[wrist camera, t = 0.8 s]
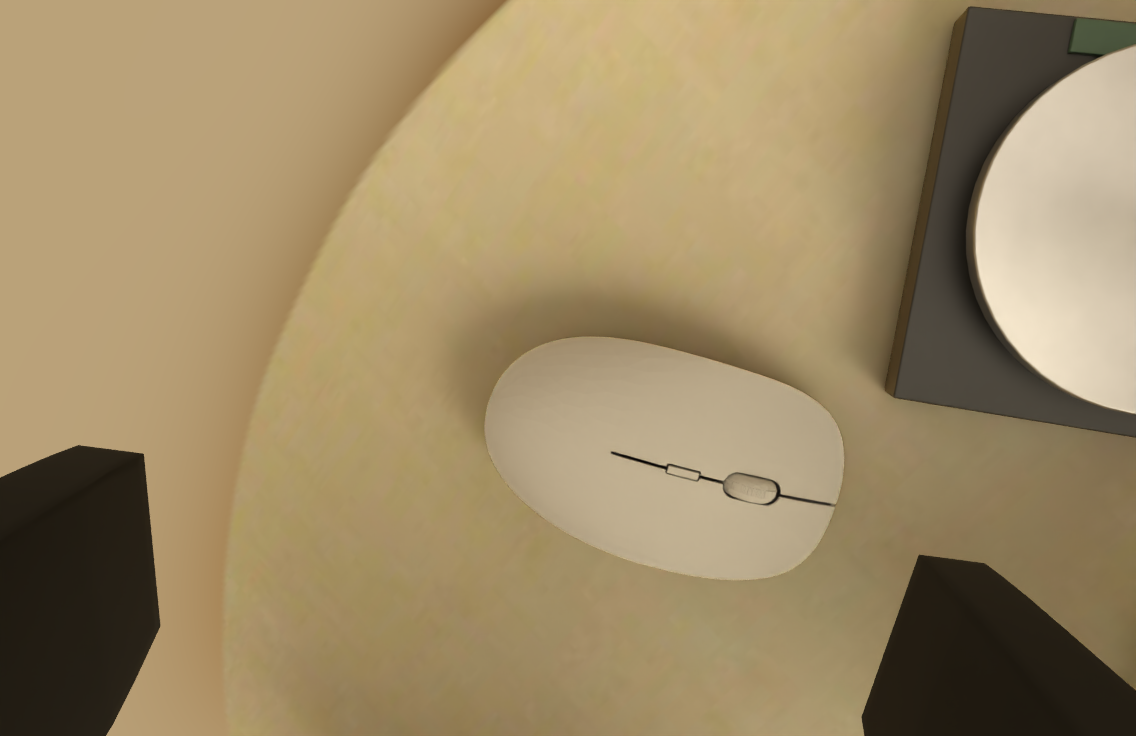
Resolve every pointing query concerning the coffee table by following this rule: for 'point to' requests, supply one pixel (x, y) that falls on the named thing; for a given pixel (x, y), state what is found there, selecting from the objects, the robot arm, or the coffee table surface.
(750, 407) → the computer mouse
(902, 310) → the scale
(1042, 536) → the coffee table surface
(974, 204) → the scale pan
